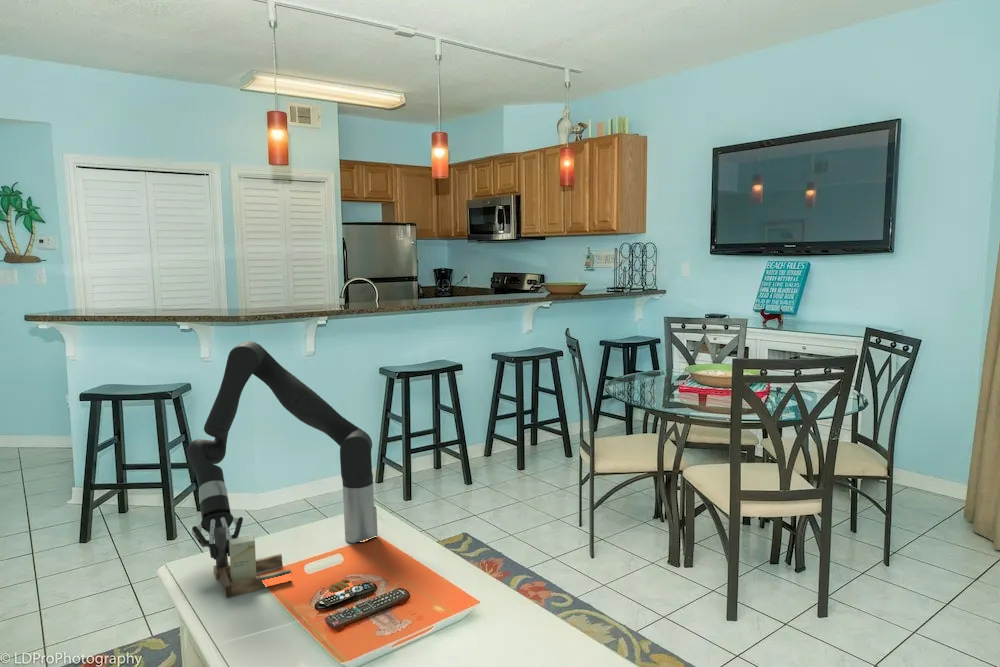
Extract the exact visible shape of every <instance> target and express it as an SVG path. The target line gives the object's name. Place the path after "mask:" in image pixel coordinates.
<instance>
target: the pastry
mask: <svg viewBox="0 0 1000 667" xmlns="http://www.w3.org/2000/svg"><path fill="white" fill-rule="evenodd" d="M341 581H342V582H340V581H338V582H336V583H335V582H334V583H333V584H331V585H330V586H331V587H330V588H329V587H328V588H329V592H331V593H332V592H333V593H334V592H338V591H341V590H343V589H344V588H346V587H349V585H348V584H347V583H350V581H351V579H348V578H347V579H343V578H342V579H341Z"/></svg>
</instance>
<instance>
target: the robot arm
mask: <svg viewBox="0 0 1000 667" xmlns="http://www.w3.org/2000/svg"><path fill="white" fill-rule="evenodd" d="M252 375H254V376H255V377H256V378H258V379H259V380H260V381H262V382H263V383H264V384H265V385H266V386H267V387H269V389H270V390H271V391H272V393H273V395H274V396H275V397H276V399H277V400H278V402H279V403H280V405H282V407H283V408H284V409H285V410H286V411H287V412H289V413H290V414H291V415H292V416H294V417H295V418H296V419H297V420H298V421H300V422H302V423H304V424H305V425H307V426H308V427H309V426H310V427H311V428H313V429H316V430H318V431H320V432H322V433H324V434H325V435H327V437H330V439H331V440H333V441H334V442H335V443H336V444H337V446H339V461H340V477H341V479H342V480H341V481H342V497H343V498H342V500H343V501H342V502H343V517H344V518H343V519H344V522H343V523H344V539H345V541H346V542H348V543H350V544H357V543H356V542H360V541H363V540H366V539H369V538H372V537H374V536H378V512H377V510H378V509H377V507H376V506H375V495H374V494H375V492H374V475H373V466H372V465H373V464H372V463H373V462H372V449H373V439H371V438H372V437H371V436H370V435H369V434H368V433H367V432H366V431H365V430H363V429H362V428H360V427H359V426H357V425H355V424H354V423H352V422H351V421H350V420H348V419H347V418H345V417H344V416H342V414H340V413H339V412H338V411H337V410H335V408H333V407H332V405H330V404H329V403H328V402H327V401H325V400H324V398H322V397H321V396H320V395H319V394H318V393H316V392H315V391H314V390H313V389H311V388H310V387H309V386H307V384H305V383H304V382H302V381H301V380H300V379H299V378H297V376H295V375H294V374H292V373H291V372H290V371H288V370H287V369H286V368H285V367H284V366H282V365H281V364H280V363H279V362H278V361H277V360H276V359H275V358H274V357H273V356H272V355H271V354H270V353H269V352H268V351H267V350H266V349H265V347H263V346H262V345H260V344H259V343H257V342H255V341H244V342H241V343H240V344H237V345H236V346H234V347H233V348H232V349H231V350H230V351H229V353H228V356H227V359H226V363H225V370H224V373H223V377H222V381H221V383H220V387H219V390H218V393H217V395H216V398H215V400H214V402H213V405H212V407H211V409H210V412H209V413H208V417H207V418H206V420H205V423H204V426H203V431H204V433H205V434H207V435H208V436H210V437H212V438H214V439H213V440H211V439H201V438H200V439H194V440H192V441H191V442H190V443H189V444H188V446H187V450H186V453H187V461H189V464H190V466H191V468H192V470H193V472H194V474H195V476H196V479H197V485H198V486H197V487H198V499H199V501H198V503H199V506H200V507H199V509H200V515H201V521H200V524H198V525H197V526H196V525H194V526H192V528H191V534H192V535H193V537H194V538H195V539H196V541H197V542H198V543H199V545H200V546H201V547H202V548H206V547H207V548H208V549H209V556H210V558H211V559H213V561H216V559H217V554H216V547H215V540H214V529H215V528H217V527H222V526H223V527H226V540H227V556H228V558H230V548H229V539H235V538H239V535H240V533H241V529H242V526H243V523H244V517H241V516H240V517H234V515H233V514H232V513H231V507H230V501H229V495H228V490H227V487H226V484H225V477H224V472H223V469H222V467H220V466H219V465H218V464H220V463H221V462H222V461H223V460H224V459H225V456H226V453H227V444H228V443H227V441H228V437H229V431H230V429H231V428H232V427H231V426H232V425H233V422H234V420H235V417H236V415H237V412H238V408H239V404H240V403H239V402H240V399H241V397H242V396H241V395H242V392H243V390H244V388H245V386H246V384H247V382H248V381H249V380H250V378H251V377H252ZM232 523H233V524H234V525H233V526H235V529H234V532H233V534H231V532H230V529H229V528H230V527H231V525H232ZM202 530H204V532H206V533H207V534H209V538H208V539H206V538H205V536H204V535H203V533H202Z"/></svg>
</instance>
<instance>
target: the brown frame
mask: <svg viewBox="0 0 1000 667" xmlns="http://www.w3.org/2000/svg"><path fill="white" fill-rule="evenodd" d="M214 544H215V547H216V554H217V559H216V560H215V565H213V566H212V567H213V573H214V576H215V579H216V580H220V583H221V586H222V588H223V591H224V595H225V598H226V599H229V598H232V597H236V596H239V595H244V594H247V593H253V592H256V591H259V590H263V589H267V588H266V587H265V585H264V584H263V582H262V580H265V579H270V578H274V577H278V576H282V575H285V574H289V573H291V574H292V570H291V569H290V568H289V569H284V570H280V571H277V572H276V571H275V572H272V573H267V574H264V575H261V576H256V577H255V578H251V579H247V580H243V581H239V582H235V583H231V581H230V579H231V570H230V561H229V559H228V558H229V557H228V554H227V540H226V527H223V526H222V527H217V528H215V529H214ZM282 566H283V555H282V553H279V554H273V555H271V556H266V557H262V558H257V559H256V573H258V572H262V571H266V570H271V569H275V568H278V567H279V568H280V567H282Z"/></svg>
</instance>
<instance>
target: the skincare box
mask: <svg viewBox="0 0 1000 667" xmlns="http://www.w3.org/2000/svg"><path fill="white" fill-rule="evenodd" d="M229 548H230V556H229V564H230V570H231V578H230V584H231V583H235V582H239V581H243V580H247V579H251V578H255V577H257V572H256V557H257V556H256V555H257V554H256V539H255V536H254V534H251V535H246V536H241V537H238V538H235V539H229Z"/></svg>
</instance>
